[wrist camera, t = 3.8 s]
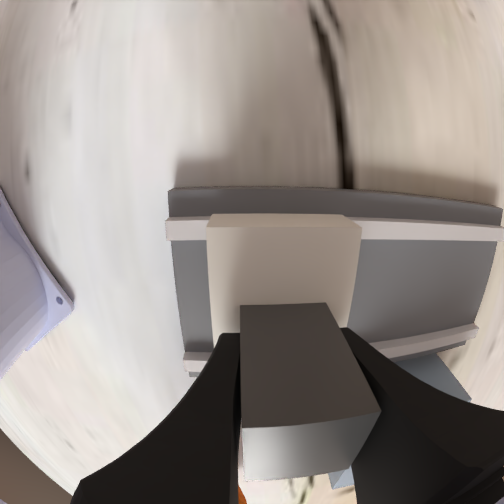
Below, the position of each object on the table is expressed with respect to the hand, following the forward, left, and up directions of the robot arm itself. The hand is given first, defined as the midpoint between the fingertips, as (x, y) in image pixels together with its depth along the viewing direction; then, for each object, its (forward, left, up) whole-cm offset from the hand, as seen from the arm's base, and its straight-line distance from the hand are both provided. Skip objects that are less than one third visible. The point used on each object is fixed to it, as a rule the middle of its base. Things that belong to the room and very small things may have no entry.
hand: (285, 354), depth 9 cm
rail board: (+3, +4, -5) cm, 7 cm away
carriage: (0, 0, -3) cm, 3 cm away
